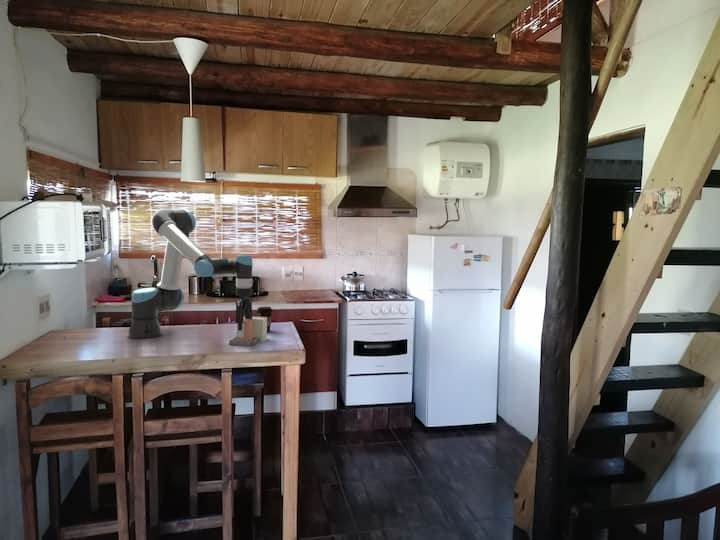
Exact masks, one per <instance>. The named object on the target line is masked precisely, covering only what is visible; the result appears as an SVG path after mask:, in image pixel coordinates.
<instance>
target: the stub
mask: <svg viewBox="0 0 720 540" xmlns="http://www.w3.org/2000/svg"><path fill="white" fill-rule="evenodd" d="M243 323H244V337H238V323H236V337H237V340H238V341H253V319H243Z"/></svg>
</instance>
